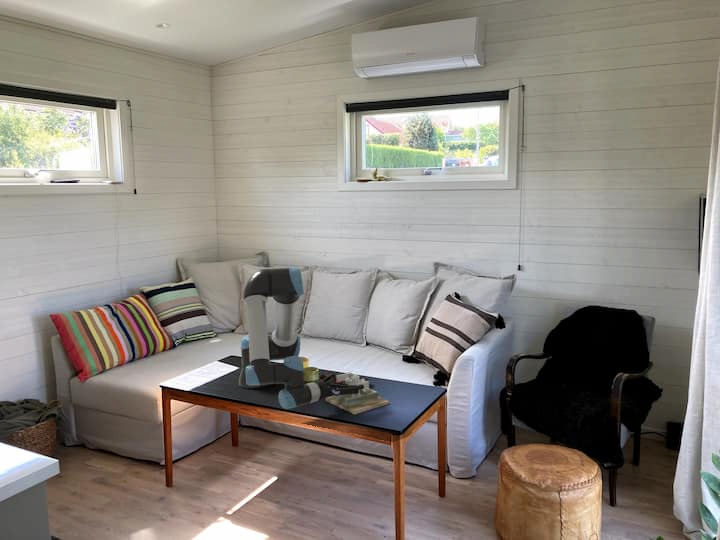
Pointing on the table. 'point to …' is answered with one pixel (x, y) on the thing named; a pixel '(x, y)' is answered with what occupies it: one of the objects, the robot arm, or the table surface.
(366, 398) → the jig board
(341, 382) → the toy motorcycle
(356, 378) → the hat wearing toy figure
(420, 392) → the table surface
